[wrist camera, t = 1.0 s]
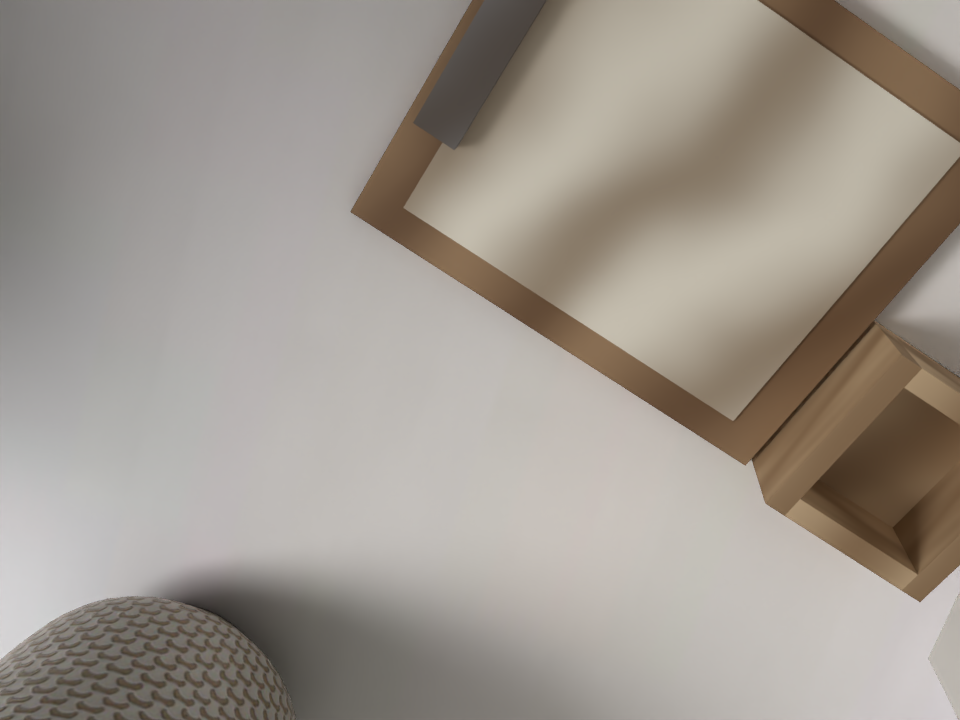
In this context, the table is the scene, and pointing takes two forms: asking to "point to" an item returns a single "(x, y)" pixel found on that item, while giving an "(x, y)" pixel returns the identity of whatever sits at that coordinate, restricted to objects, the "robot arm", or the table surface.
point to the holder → (875, 462)
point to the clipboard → (679, 189)
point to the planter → (140, 667)
